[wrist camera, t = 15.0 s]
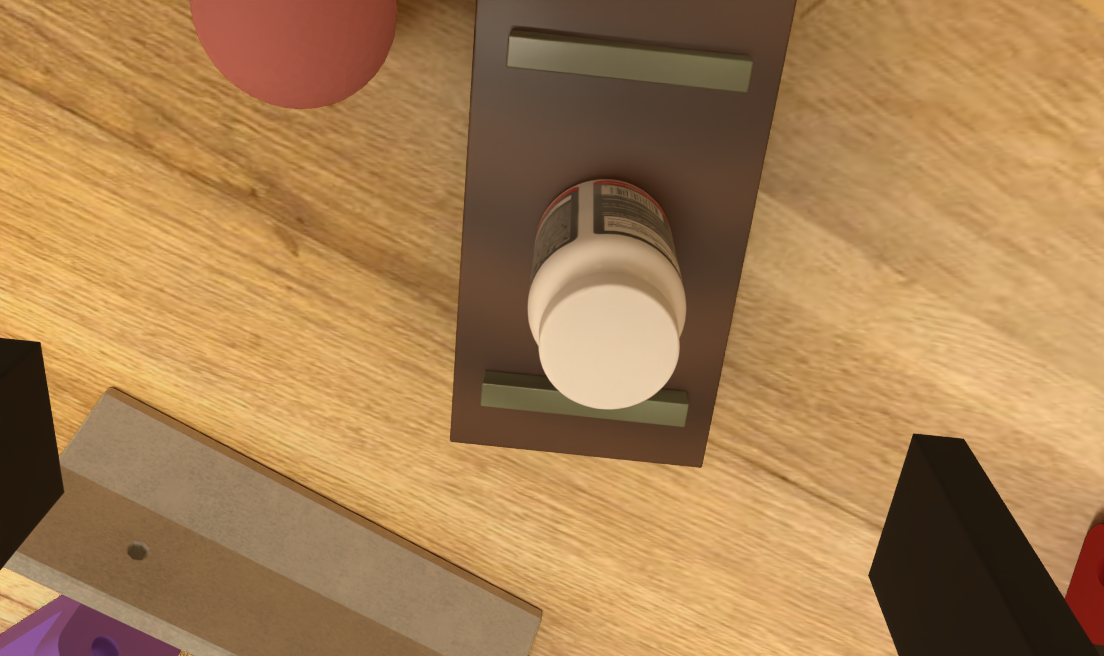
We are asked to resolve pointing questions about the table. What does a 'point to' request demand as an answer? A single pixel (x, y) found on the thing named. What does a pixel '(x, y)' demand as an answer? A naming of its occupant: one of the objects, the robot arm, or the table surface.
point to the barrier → (246, 555)
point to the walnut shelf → (617, 154)
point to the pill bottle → (606, 295)
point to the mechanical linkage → (1089, 586)
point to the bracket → (78, 634)
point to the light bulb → (296, 46)
